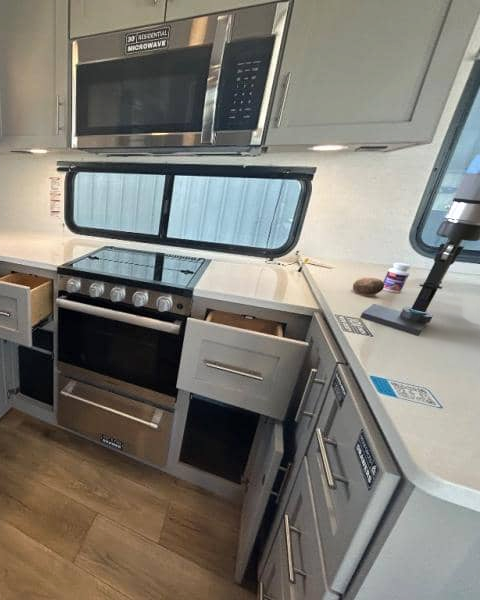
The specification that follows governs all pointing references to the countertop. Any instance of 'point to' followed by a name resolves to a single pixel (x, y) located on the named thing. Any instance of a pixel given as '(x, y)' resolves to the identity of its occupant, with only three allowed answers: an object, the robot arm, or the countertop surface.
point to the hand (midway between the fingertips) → (418, 310)
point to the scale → (397, 318)
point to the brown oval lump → (368, 286)
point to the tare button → (418, 312)
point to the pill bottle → (396, 277)
